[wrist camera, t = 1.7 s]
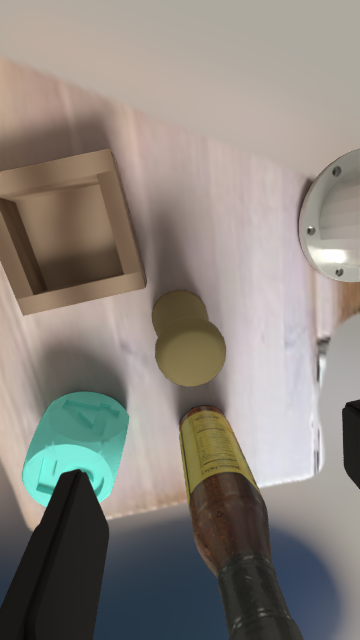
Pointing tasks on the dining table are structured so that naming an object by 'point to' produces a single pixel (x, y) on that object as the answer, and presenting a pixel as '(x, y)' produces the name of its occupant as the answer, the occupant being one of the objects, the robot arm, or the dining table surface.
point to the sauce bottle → (232, 528)
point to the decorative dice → (76, 444)
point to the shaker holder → (67, 232)
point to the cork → (186, 339)
